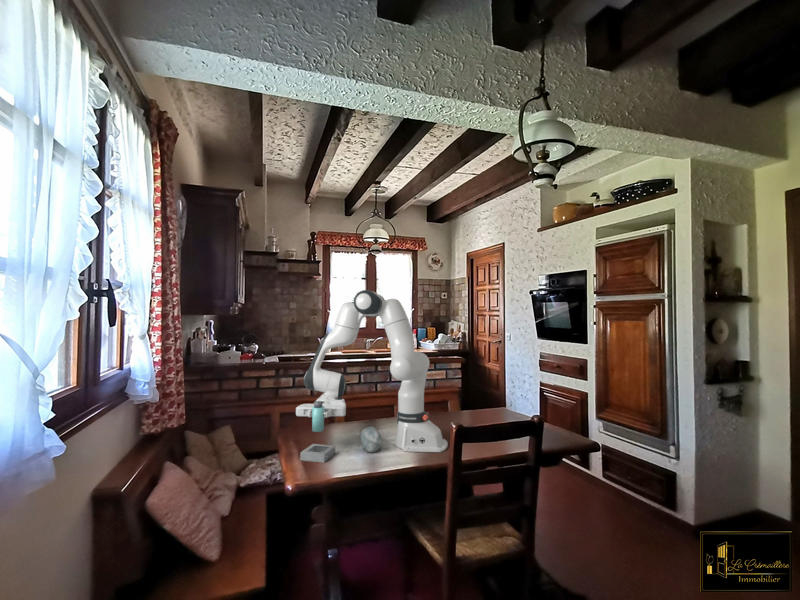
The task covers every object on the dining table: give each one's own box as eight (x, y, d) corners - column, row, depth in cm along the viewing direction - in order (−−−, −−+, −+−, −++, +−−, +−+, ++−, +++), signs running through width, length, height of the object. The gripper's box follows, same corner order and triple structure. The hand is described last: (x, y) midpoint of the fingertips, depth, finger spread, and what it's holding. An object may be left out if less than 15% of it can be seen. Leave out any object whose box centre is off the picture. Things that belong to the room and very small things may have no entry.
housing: (335, 453, 157) (335, 445, 157) (324, 462, 147) (324, 454, 147) (312, 451, 160) (312, 443, 160) (300, 460, 150) (300, 452, 150)
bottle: (325, 428, 155) (325, 401, 156) (320, 432, 151) (320, 403, 151) (315, 427, 156) (315, 400, 157) (310, 431, 152) (310, 402, 152)
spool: (355, 435, 169) (366, 416, 168) (374, 444, 171) (385, 425, 169) (354, 454, 156) (366, 433, 154) (375, 463, 157) (387, 443, 156)
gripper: (300, 399, 167) (291, 407, 153) (348, 399, 167) (343, 407, 153) (300, 414, 167) (291, 423, 153) (348, 414, 167) (343, 423, 153)
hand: (317, 415), depth 153 cm, fingers closed on bottle, 4 cm apart
